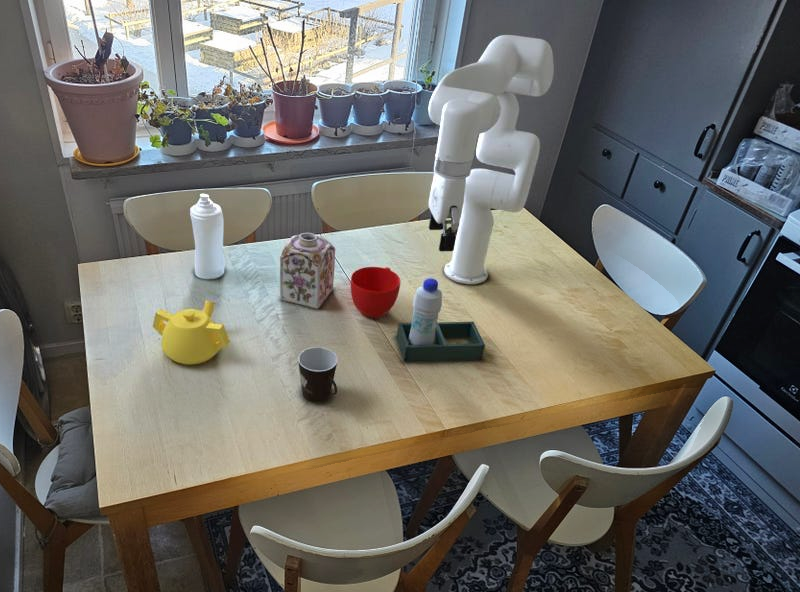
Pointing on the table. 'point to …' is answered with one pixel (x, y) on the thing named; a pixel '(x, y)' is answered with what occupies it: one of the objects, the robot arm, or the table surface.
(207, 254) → the spray can
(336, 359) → the coffee mug
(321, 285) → the decorative jar
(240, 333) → the table surface
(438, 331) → the tray
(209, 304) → the teapot
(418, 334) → the bottle
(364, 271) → the ceramic cup
